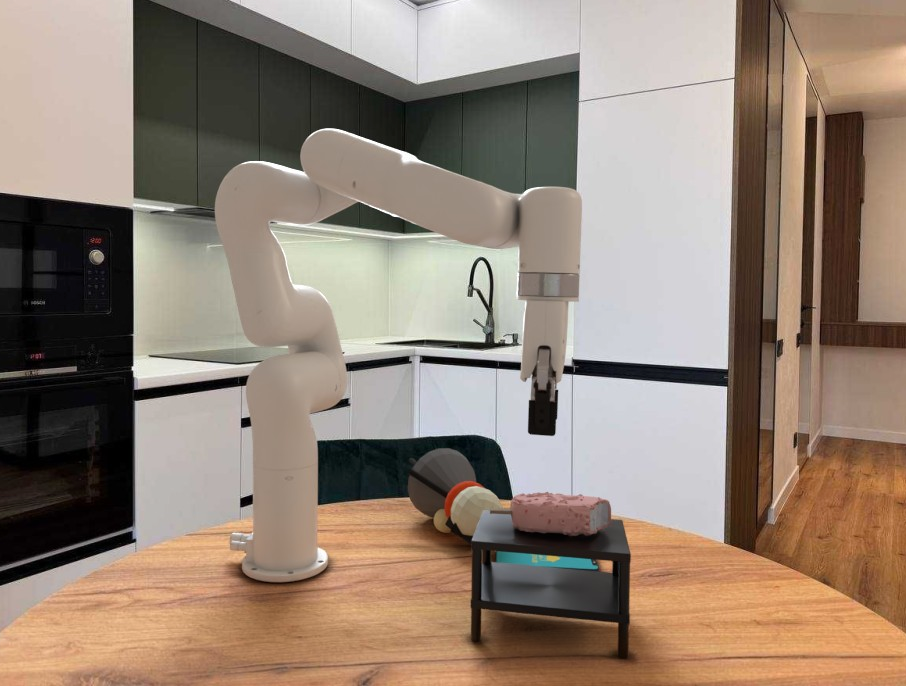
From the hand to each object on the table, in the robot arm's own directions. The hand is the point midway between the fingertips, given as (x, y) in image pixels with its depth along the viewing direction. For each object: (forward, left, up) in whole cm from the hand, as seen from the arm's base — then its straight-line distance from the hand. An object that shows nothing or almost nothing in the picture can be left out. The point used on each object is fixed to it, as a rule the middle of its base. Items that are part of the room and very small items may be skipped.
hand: (543, 426), depth 86 cm
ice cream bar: (+1, -1, -13) cm, 13 cm away
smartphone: (0, +19, -25) cm, 31 cm away
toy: (-18, +32, -25) cm, 44 cm away
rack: (+1, -1, -25) cm, 25 cm away
